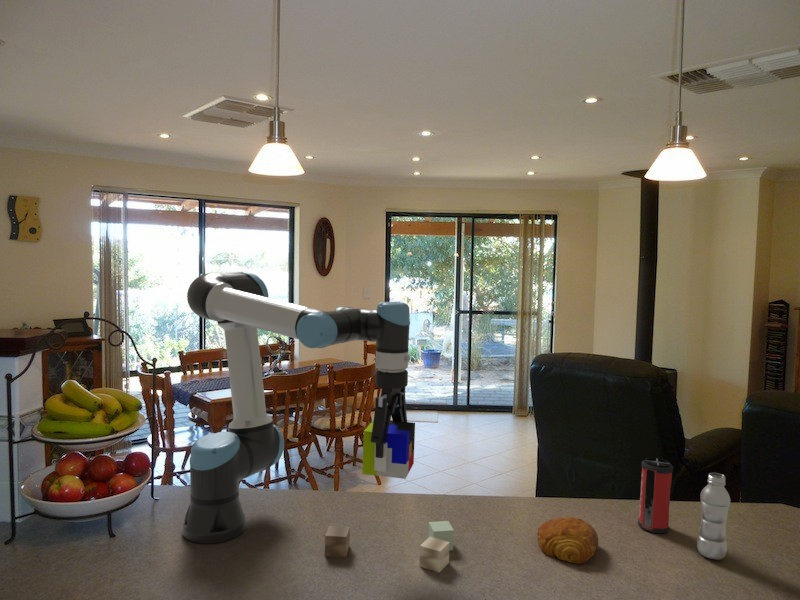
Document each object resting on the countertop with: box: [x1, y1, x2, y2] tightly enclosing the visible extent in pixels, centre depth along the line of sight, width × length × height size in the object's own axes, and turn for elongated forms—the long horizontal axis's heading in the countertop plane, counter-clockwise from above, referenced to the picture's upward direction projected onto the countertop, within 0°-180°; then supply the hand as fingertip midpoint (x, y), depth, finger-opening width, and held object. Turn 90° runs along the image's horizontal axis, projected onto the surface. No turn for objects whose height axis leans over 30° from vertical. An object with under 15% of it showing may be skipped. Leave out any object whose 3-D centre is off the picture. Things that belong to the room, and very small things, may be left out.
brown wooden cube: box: [324, 525, 351, 558], centre depth 138 cm, size 5×5×5 cm
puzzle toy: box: [362, 419, 416, 480], centre depth 136 cm, size 10×10×10 cm
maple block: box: [419, 537, 450, 574], centre depth 133 cm, size 5×5×5 cm
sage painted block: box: [427, 520, 455, 551], centre depth 142 cm, size 5×5×5 cm
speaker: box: [637, 457, 675, 534], centre depth 154 cm, size 8×8×18 cm
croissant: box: [536, 516, 599, 565], centre depth 143 cm, size 14×16×8 cm
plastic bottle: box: [696, 472, 732, 561], centre depth 140 cm, size 6×7×20 cm
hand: (389, 462), depth 137 cm, fingers closed on puzzle toy, 10 cm apart
